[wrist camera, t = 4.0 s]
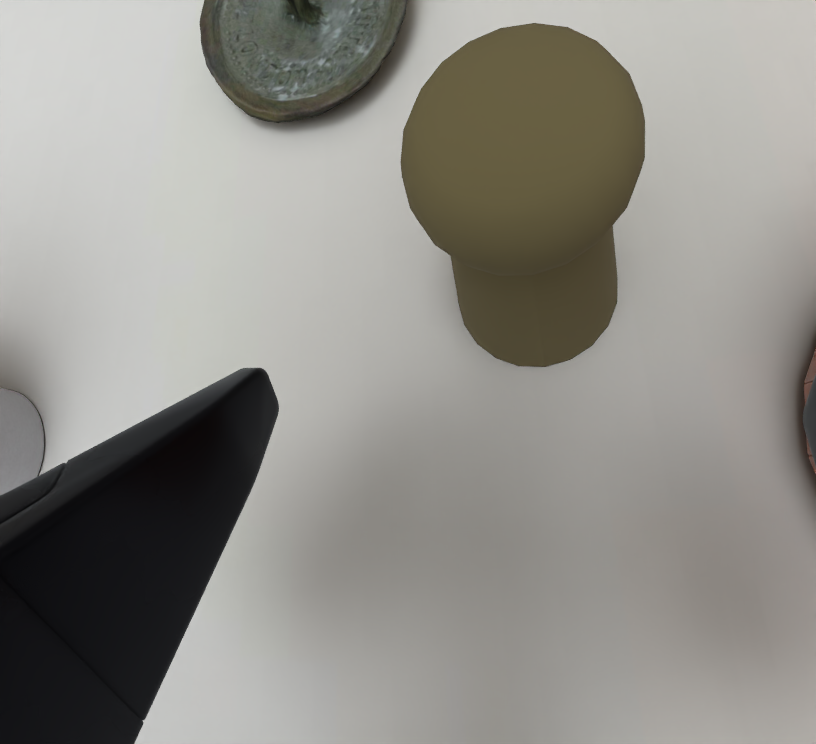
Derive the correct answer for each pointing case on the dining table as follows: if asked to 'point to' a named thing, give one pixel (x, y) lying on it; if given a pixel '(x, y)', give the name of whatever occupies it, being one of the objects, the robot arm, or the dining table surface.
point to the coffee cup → (19, 440)
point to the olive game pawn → (527, 185)
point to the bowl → (813, 370)
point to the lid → (296, 51)
